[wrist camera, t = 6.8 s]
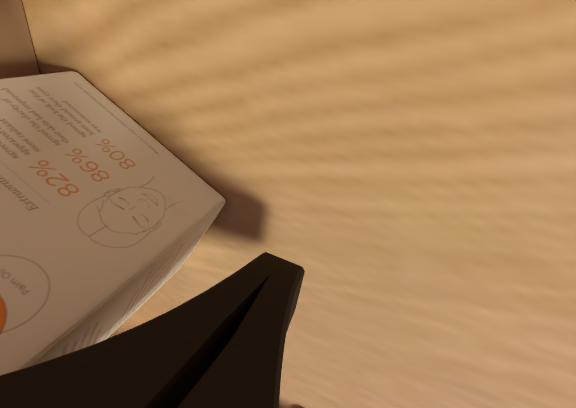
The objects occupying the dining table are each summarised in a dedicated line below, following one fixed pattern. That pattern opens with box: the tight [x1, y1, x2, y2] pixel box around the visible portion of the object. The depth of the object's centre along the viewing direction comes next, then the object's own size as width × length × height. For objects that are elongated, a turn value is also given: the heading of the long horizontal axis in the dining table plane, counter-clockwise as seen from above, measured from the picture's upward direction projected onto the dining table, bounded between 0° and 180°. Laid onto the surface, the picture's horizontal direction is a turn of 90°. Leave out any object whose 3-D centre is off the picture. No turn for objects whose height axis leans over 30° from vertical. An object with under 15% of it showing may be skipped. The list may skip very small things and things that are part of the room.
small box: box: [0, 71, 226, 375], centre depth 10 cm, size 8×6×10 cm
